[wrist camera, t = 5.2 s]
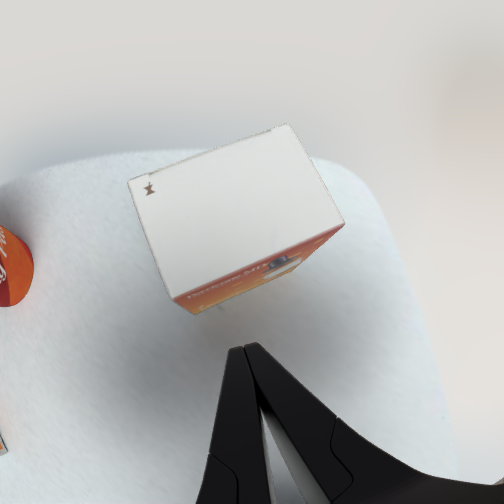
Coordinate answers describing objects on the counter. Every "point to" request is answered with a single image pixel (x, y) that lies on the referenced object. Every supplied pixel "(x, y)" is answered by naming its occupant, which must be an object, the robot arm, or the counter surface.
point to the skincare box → (2, 448)
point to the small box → (234, 217)
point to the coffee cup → (14, 268)
